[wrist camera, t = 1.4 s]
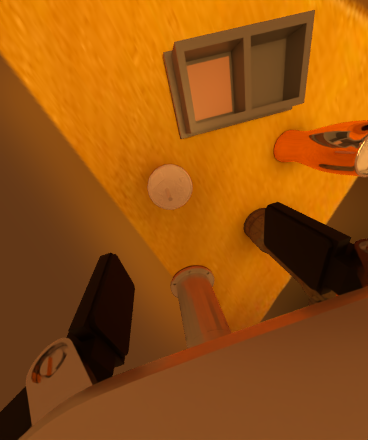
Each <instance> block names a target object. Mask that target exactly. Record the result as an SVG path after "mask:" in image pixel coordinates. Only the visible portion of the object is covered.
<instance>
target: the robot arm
mask: <svg viewBox="0 0 368 440" xmlns="http://www.w3.org/2000/svg"><path fill="white" fill-rule="evenodd" d="M350 239H351V237H349V236H347V235H345V234H343V233H341V232H339V231H337V230H335V229H333V228H331V227H329V226H327V225H325V224H323V223H321V222H318V221H316V220H314V219H312V218H310V217H308V216H306V215H304V214H302V213H300V212H298V211H296V210H294V209H292V208H290V207H288V206H286V205H284V204H282V203H279V202H276V203H272V204H269V205H267V208H265V217H264V245H265V247H266V248H267V249H268V250H270V251H271V252H272V253H273V254H274V255H275V256H276V257H277V258H278V259H279V260H280V261H281V262H282V263H284V264H285V265H286V266H287V267H288V268H289V269H290V270H291V271H292V272H293V273H294V274H295V275H296V276H298V277H299V278H300V279H301V280H302V281H303V282H304V283H305V284H306V285H307V286H308V287H309V288H311V289H312V290H316V291H317V292H318V293H319V294H320V295H323V294H326V293H329V292H331V290H332V291H333V292H335V293H336V297H333V298H330V299H327V300H325V301H322V302H319V303H316V304H313V305H310V306H307V307H304V308H301V309H299V310H296V311H293V312H290V313H287V314H285V315H281V316H278V317H276V318H273V319H270V320H267V321H264V322H261V323H259V324H256V325H253V326H250V327H247V328H244V329H242V330H239V331H236V332H233V333H231V331H230V328H229V326H228V324H227V321H226V319H225V317H224V314H223V312H222V309H221V307H220V305H219V302H218V300H217V298H216V295H215V293H214V290H213V288H212V287H213V284H214V276H213V274H212V272H211V271H210V270H209V269H207V268H205V267H202V266H191V267H188V268H185V269H183V270H181V271H180V272H178V273H177V274H176V275H175V276H174V277H173V279H172V281H171V291H172V293H173V295H174V296H175V297H177V298H178V299H179V304H180V310H181V316H182V321H183V327H184V332H185V338H186V344H187V349H186V350H183V351H180V352H177V353H174V354H172V355H169V356H166V357H163V358H160V359H158V360H155V361H152V362H149V363H147V364H144V365H141V366H139V367H136V368H134V369H131V370H128V371H126V372H123V373H120V374H118V375H115V376H112V375H113V371H114V368H115V367H118V366H121V365H123V364H124V360H125V355H127V354H128V350H129V341H130V331H131V330H130V329H131V320H132V312H133V302H134V291H135V288H134V284H133V282H132V280H131V278H130V277H129V275H128V273H127V272H126V270H125V268H124V267H123V265H122V263H121V262H120V260H119V258H118V256H117V255H116V254H114V255H113V254H112V253H108V254H105V255H102V256H100V258H99V260H98V263H97V265H96V267H95V270H94V272H93V274H92V277H91V279H90V281H89V284H88V286H87V288H86V291H85V293H84V295H83V298H82V300H81V302H80V305H79V307H78V309H77V312H76V314H75V317H74V319H73V321H72V323H71V326H70V328H69V333H68V335H67V337H66V338H62V339H58V340H57V341H55V342H53V343H51V344H50V345H49V346H48V347H46V348H45V349H44V350H43V351H42V352H41V353H40V354H39V356H38V357H37V358H36V360H35V361H34V363H33V364H32V366H31V367H30V369H29V372H28V374H27V377H26V387H25V388H24V389H23V390H22V391H21V392H20V393H19V394H18V395H17V396H16V397H15V398H14V399H13V400H12V401H11V402H10V403H9V404H8V405H7V406H6V407H5V408H4V409H3V410H2V411H1V412H0V440H368V238H367V239H366V238H365V239H359V240H357V241H355V243H354V244H352V243H350Z"/></svg>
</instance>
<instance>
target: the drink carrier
mask: <svg viewBox="0 0 368 440" xmlns="http://www.w3.org/2000/svg"><path fill="white" fill-rule="evenodd" d="M314 14H315V10H312V11H308V12H304V13H299V14H295V15H290V16H286V17H282V18H277V19H273V20H269V21H264V22H260V23H256V24H251V25H247V26H242V27H238V28H234V29H229V30H225V31H221V32H216V33H212V34H207V35H203V36H199V37H194V38H190V39H186V40H181V41H177V42H174V46H173V50H172V51H168V52H164V53H163V59H164V64H165V68H166V73H167V78H168V82H169V87H170V92H171V96H172V101H173V106H174V110H175V115H176V120H177V124H178V129H179V133H180V138H181V139H183V138H186V137H190V136H194V135H197V134H201V133H205V132H209V131H212V130H216V129H220V128H224V127H227V126H231V125H235V124H238V123H242V122H246V121H250V120H253V119H257V118H261V117H264V116H268V115H272V114H276V113H279V112H283V111H287V110H291V109H292V106H295V105H298V104H302V103H304V98H305V90H306V81H307V73H308V65H309V56H310V48H311V39H312V31H313V22H314Z"/></svg>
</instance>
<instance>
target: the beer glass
mask: <svg viewBox="0 0 368 440" xmlns="http://www.w3.org/2000/svg"><path fill="white" fill-rule="evenodd" d="M274 156H275V158H276V159H277V160H278V161H280V162H298V163H301V164H303V165H306V166H308V167H311V168H313V169H316V170H320V171H323V172H328V173H333V174H341V175H351V176H361V177H368V120H361V121H350V122H342V123H337V124H333V125H329V126H325V127H321V128H318V129H314V130H310V131H299V130H288V131H286V132H284V133H283V134H281V135H280V137H279V138H278V139H277V141H276V143H275V146H274Z"/></svg>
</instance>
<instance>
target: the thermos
mask: <svg viewBox="0 0 368 440" xmlns="http://www.w3.org/2000/svg"><path fill="white" fill-rule="evenodd" d="M264 217H265V208H261V209H258V210H256V211H254V212H253V213H251V214H250V215H249V216H248V218H247V219H246V221H245V223H244V232H245V233H246V235H247V236H248V237H250V239H251V240H252V242H253V243H254V244H255V245H256V246H257V247H258V248H259V249H260V250H261V251H263V252H265V253H267V254H269V255H270V256H271V257H272V258H273V259H274V260H275V261H277V262H278V263H279V264H280V265H281V266H282V267H283V268H284V269H285V270H286V271H287V272H288V273H289V274H290V275H291V276H292V277H293V278H294V279H295V280H296V281H297V282H299V283H300V284H301V286H302V288H303V290H304V292H305V293H306V294H307V295H308V296H309V297H310V299H309V302H308V305H309V306H310V305H313V304H316V303H319V302H322V301H325V300H327V299H330V298H333V297H336V293H335V292H333V291H332V290H331V292H329V293H326V294H323V295H320V294H319V293H318V292H317V291H316V290H312V289H311V288H309V287H308V286H307V285H306V284H305V283H304V282H303V281H302V280H301V279H300V278H299V277H298V276H296V275H295V274H294V273H293V272H292V271H291V270H290V269H289V268H288V267H287V266H286V265H285V264H284V263H282V262H281V261H280V260H279V259H278V258H277V257H276V256H275V255H274V254H273V253H272V252H271V251H270V250H268V249H267V248H266V247H265V245H264Z"/></svg>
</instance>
